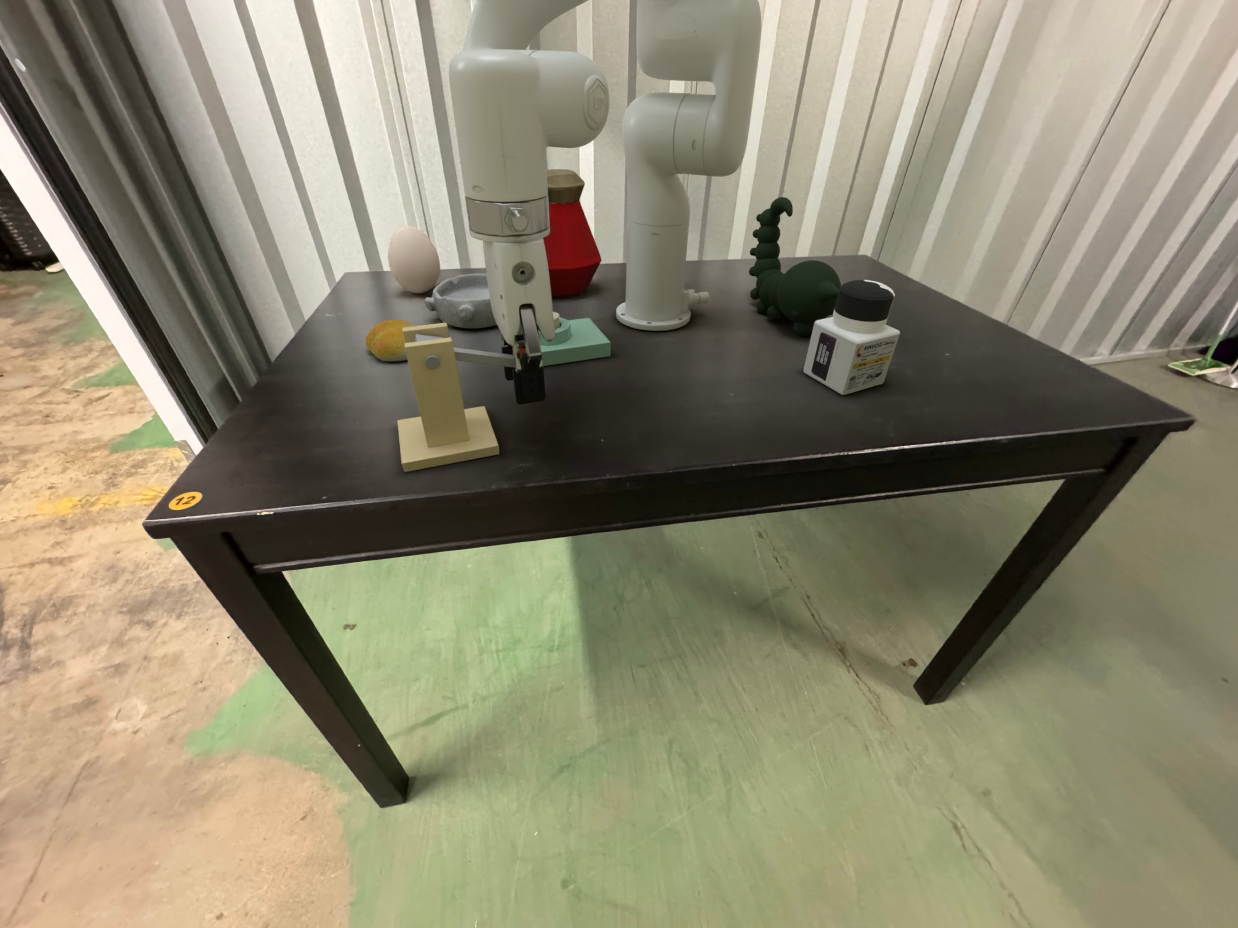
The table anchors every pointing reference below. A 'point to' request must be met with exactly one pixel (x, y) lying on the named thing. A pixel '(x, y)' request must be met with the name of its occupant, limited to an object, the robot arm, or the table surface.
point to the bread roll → (388, 340)
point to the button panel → (574, 342)
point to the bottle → (568, 236)
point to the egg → (413, 260)
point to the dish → (463, 302)
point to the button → (556, 320)
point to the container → (854, 339)
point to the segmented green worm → (790, 277)
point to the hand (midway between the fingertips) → (524, 388)
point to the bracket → (440, 407)
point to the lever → (477, 354)
